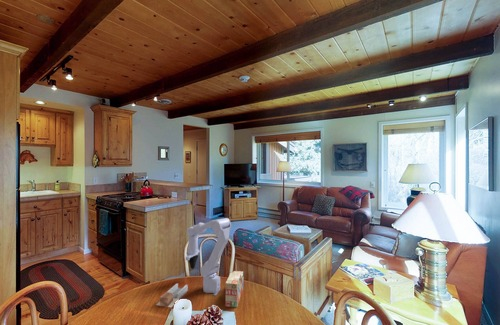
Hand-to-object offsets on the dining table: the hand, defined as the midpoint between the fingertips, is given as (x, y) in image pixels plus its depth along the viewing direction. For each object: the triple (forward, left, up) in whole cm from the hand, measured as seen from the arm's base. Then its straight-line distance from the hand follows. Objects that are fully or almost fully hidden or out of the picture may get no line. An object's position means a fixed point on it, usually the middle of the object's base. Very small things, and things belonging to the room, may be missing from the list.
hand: (192, 267), depth 141 cm
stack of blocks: (-30, +7, -10) cm, 32 cm away
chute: (+2, +18, -9) cm, 20 cm away
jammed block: (+2, +24, -8) cm, 26 cm away
